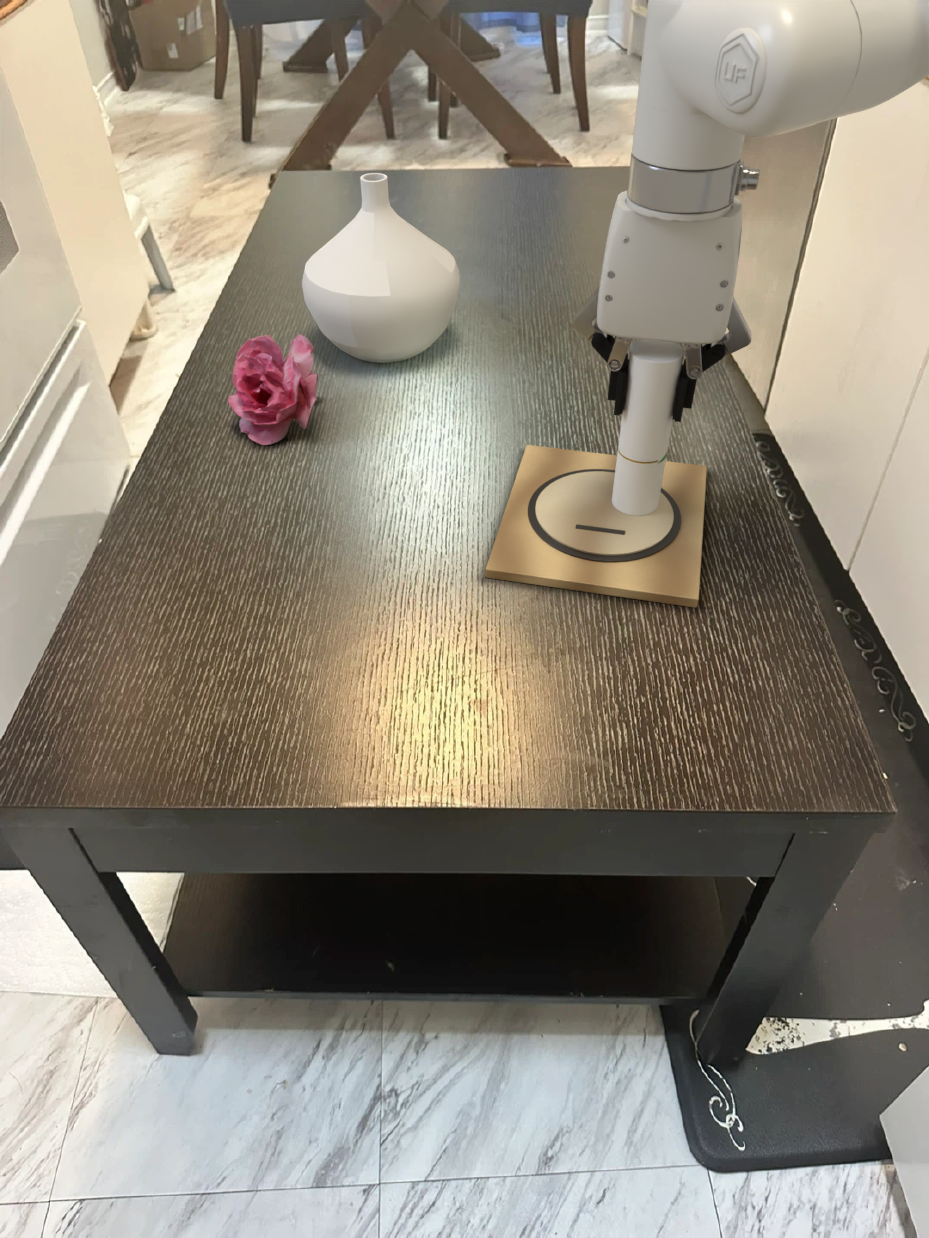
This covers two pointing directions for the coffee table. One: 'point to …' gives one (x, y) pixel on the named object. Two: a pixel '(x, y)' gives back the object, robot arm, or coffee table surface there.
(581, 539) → the drawing board
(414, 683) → the coffee table surface
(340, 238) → the vase
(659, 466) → the tube
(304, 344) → the flower
